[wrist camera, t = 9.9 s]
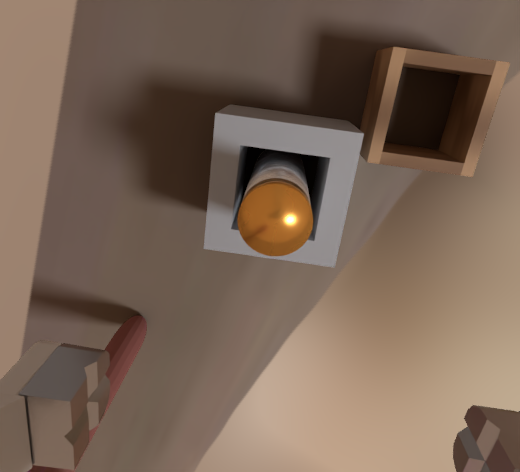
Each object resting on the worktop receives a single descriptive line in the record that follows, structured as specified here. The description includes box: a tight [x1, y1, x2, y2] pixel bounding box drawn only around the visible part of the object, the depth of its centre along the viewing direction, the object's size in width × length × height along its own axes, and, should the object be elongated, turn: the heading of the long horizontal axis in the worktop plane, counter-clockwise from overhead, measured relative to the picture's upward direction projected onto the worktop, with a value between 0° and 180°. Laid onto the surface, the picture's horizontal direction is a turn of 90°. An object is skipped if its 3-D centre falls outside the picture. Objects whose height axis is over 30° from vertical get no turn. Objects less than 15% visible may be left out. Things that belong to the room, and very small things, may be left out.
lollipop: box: [27, 315, 147, 472], centre depth 25 cm, size 13×8×30 cm, turn 125°
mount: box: [360, 47, 510, 177], centre depth 28 cm, size 7×7×5 cm
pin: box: [237, 149, 313, 256], centre depth 27 cm, size 4×4×12 cm
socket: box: [204, 104, 364, 267], centre depth 30 cm, size 9×9×7 cm
